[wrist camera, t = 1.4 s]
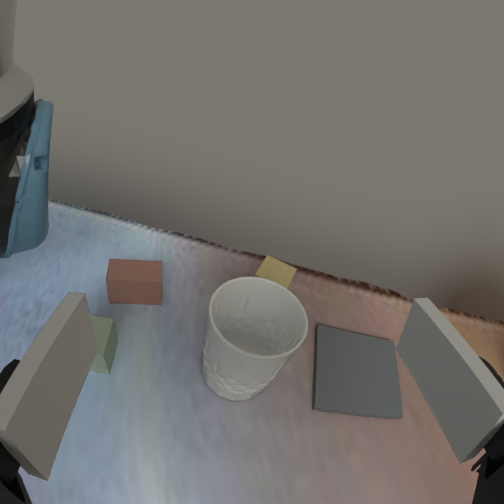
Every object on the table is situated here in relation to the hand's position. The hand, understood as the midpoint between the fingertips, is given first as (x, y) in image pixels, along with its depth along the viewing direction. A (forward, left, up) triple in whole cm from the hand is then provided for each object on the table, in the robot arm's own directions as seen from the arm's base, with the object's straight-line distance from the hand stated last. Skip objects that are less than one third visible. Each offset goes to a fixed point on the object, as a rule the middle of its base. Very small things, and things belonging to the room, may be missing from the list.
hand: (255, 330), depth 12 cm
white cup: (+1, +8, -19) cm, 21 cm away
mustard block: (+3, +20, -19) cm, 28 cm away
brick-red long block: (-12, +14, -19) cm, 27 cm away
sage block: (-13, +5, -19) cm, 24 cm away
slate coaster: (+15, +11, -19) cm, 27 cm away
